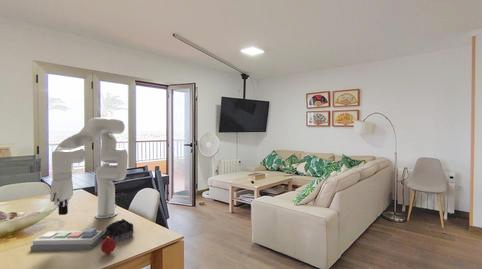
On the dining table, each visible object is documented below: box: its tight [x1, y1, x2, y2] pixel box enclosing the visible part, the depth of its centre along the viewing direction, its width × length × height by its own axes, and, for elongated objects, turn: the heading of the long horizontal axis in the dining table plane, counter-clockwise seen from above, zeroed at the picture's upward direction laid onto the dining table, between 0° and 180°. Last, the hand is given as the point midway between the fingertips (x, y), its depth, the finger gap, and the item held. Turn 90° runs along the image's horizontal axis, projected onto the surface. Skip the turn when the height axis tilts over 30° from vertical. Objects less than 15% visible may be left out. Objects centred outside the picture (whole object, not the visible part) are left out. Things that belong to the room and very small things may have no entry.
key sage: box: [55, 232, 70, 238], centre depth 120 cm, size 4×4×2 cm
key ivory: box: [40, 232, 57, 239], centre depth 120 cm, size 4×4×2 cm
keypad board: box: [30, 229, 105, 252], centre depth 120 cm, size 13×26×4 cm, turn 93°
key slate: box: [82, 227, 98, 237], centre depth 121 cm, size 4×4×2 cm
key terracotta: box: [69, 232, 83, 238], centre depth 120 cm, size 4×4×2 cm
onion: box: [100, 236, 117, 255], centre depth 110 cm, size 6×6×8 cm
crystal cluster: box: [104, 218, 134, 243], centre depth 128 cm, size 13×14×10 cm
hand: (63, 214), depth 120 cm, fingers closed
